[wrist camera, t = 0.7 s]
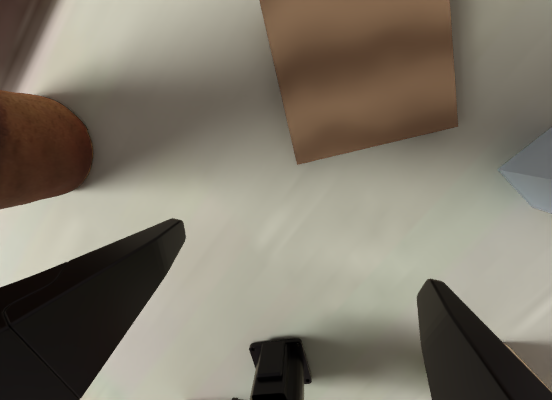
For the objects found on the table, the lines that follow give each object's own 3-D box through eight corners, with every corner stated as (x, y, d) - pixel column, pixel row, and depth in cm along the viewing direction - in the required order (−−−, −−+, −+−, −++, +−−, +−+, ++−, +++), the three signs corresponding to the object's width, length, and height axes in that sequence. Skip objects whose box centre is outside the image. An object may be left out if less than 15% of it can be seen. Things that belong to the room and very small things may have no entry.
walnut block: (444, 127, 21) (458, 126, 19) (297, 162, 23) (297, 164, 21) (429, -50, 18) (444, -72, 16) (263, 10, 20) (258, -3, 18)
